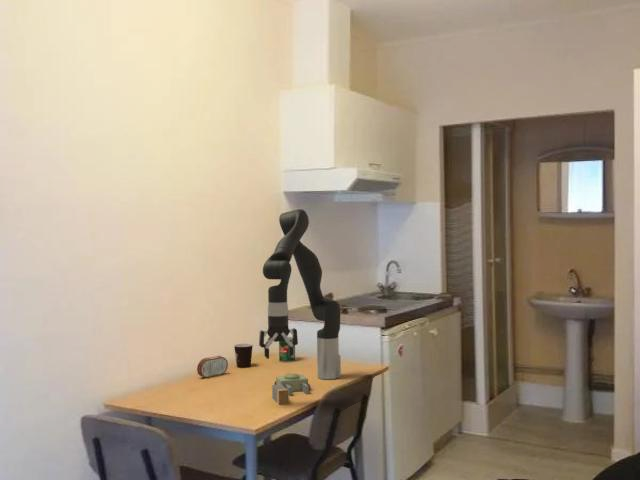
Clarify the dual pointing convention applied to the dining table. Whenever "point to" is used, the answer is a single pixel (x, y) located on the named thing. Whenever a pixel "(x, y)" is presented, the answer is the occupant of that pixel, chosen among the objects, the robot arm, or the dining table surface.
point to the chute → (280, 394)
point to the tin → (212, 366)
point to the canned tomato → (285, 351)
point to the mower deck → (294, 383)
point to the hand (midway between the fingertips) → (278, 357)
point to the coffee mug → (243, 355)
